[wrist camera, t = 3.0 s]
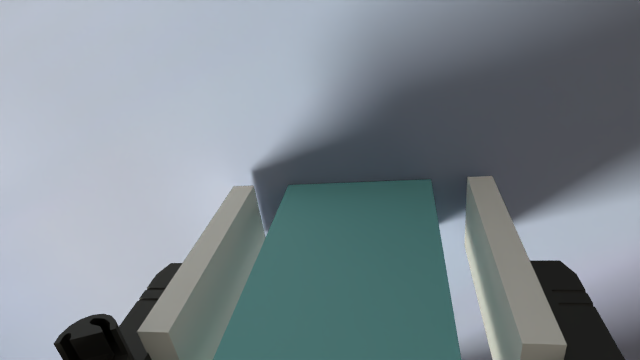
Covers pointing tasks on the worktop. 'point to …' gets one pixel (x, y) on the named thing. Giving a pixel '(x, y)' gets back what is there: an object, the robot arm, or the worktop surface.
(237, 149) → the worktop surface
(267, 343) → the teal domino
